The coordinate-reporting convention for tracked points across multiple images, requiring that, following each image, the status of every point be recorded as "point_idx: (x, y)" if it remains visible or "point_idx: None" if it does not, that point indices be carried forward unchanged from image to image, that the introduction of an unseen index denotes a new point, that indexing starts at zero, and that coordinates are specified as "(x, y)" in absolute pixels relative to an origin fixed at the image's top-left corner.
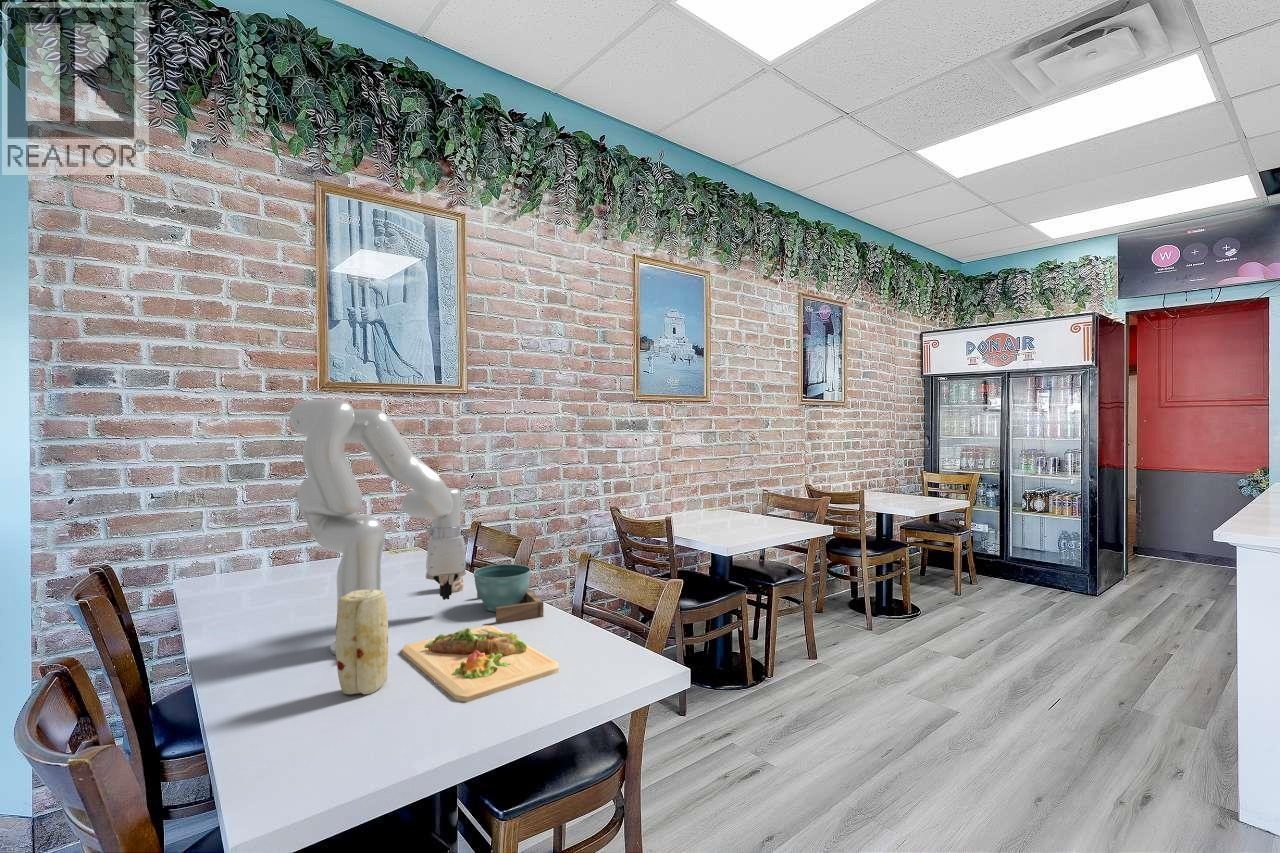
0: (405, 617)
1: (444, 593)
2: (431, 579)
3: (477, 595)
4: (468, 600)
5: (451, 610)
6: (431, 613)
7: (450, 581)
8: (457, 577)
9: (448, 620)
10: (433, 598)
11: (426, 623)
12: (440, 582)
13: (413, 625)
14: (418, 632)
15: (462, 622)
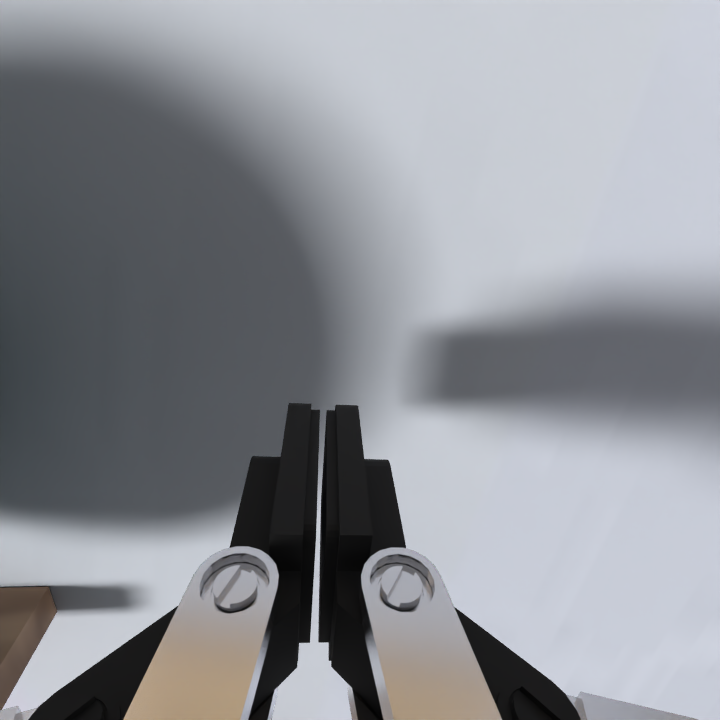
0: (574, 446)
1: (351, 445)
2: (607, 699)
3: (40, 623)
4: (120, 592)
5: (260, 453)
6: (404, 451)
7: (239, 604)
8: (62, 694)
9: (326, 223)
10: (325, 678)
11: (506, 241)
12: (435, 599)
13: (605, 245)
14: (658, 2)
15: (210, 79)
